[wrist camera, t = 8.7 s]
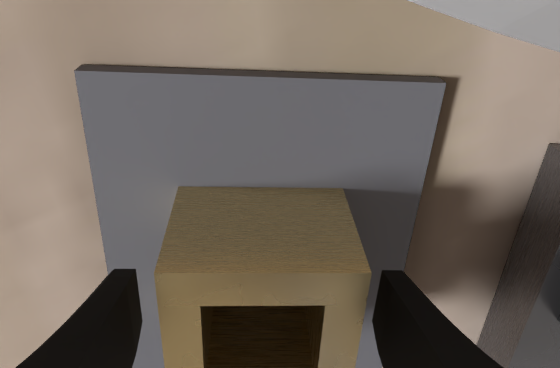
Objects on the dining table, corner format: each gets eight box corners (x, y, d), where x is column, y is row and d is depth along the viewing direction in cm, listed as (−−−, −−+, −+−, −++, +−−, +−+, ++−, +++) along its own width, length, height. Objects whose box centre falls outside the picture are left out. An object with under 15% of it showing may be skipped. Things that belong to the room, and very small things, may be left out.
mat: (376, 363, 19) (380, 376, 19) (128, 365, 19) (125, 378, 18) (438, 76, 13) (446, 82, 13) (81, 64, 13) (74, 70, 12)
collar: (327, 309, 17) (347, 409, 13) (187, 309, 16) (169, 413, 13) (342, 188, 14) (371, 273, 11) (178, 186, 14) (153, 273, 11)
